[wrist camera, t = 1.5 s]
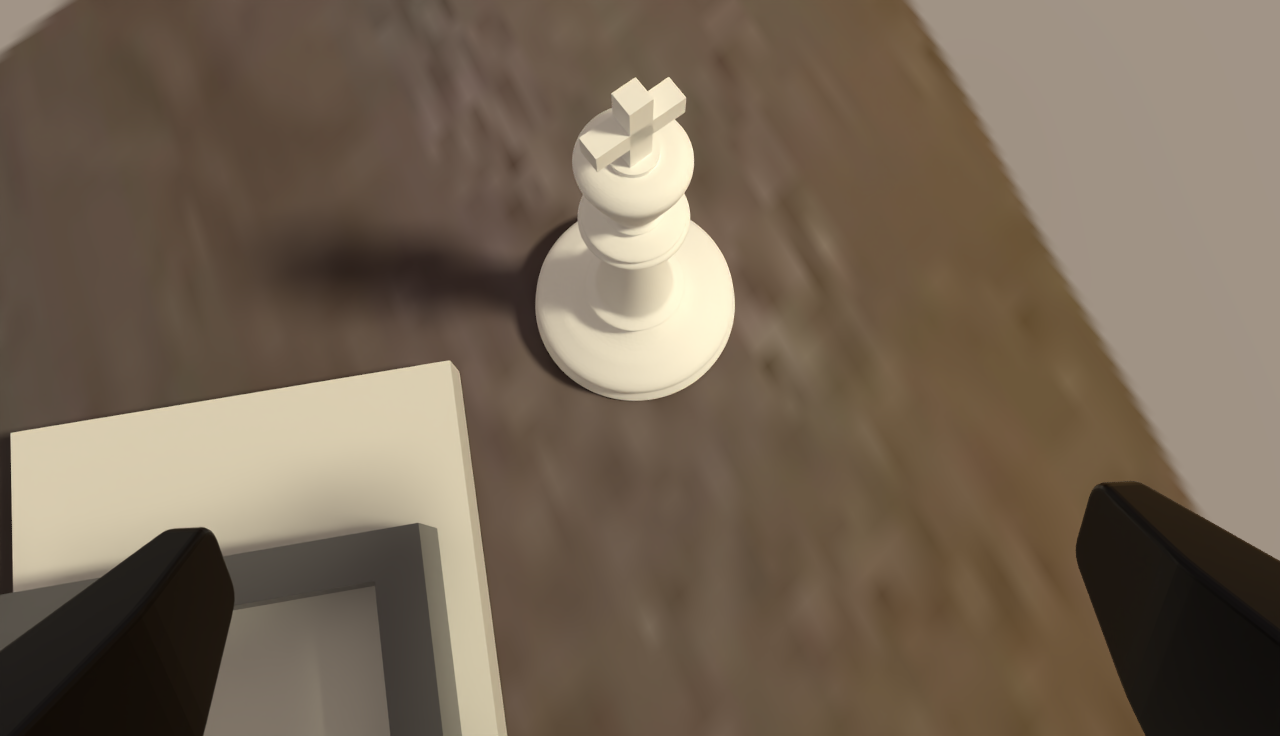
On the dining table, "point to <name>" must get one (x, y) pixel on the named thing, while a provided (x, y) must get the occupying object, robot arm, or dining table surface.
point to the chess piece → (635, 258)
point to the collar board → (289, 546)
